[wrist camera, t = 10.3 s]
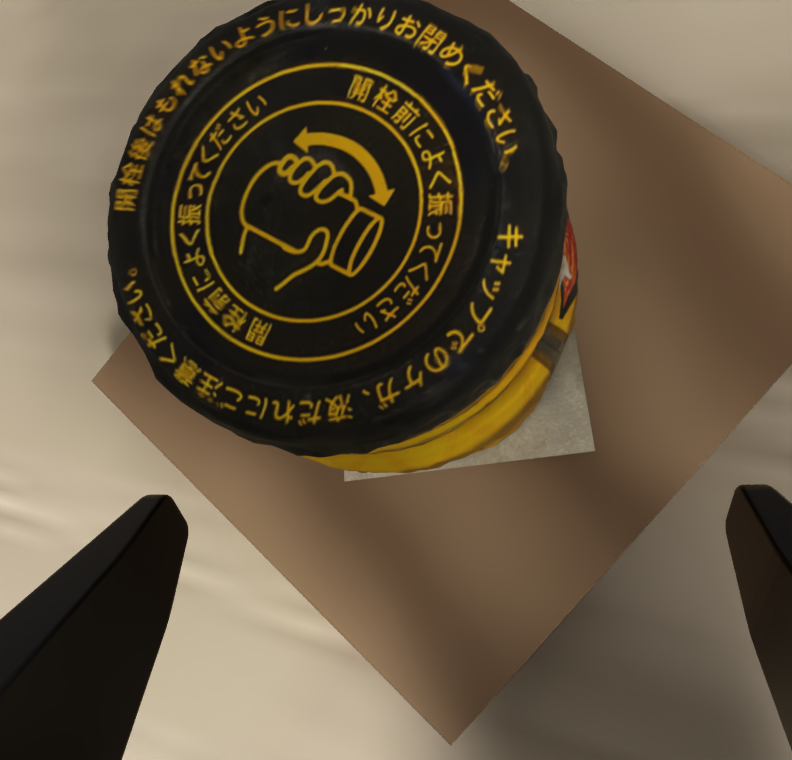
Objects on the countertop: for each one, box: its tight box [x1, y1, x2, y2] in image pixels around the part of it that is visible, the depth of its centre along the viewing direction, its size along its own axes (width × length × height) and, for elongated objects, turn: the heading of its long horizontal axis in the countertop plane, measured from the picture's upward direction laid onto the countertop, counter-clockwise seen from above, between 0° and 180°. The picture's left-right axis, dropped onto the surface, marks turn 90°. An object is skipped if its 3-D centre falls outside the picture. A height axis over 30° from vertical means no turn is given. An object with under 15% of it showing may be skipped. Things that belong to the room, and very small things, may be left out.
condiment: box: [108, 0, 595, 481], centre depth 12 cm, size 7×8×12 cm
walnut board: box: [92, 0, 792, 745], centre depth 19 cm, size 18×16×2 cm
